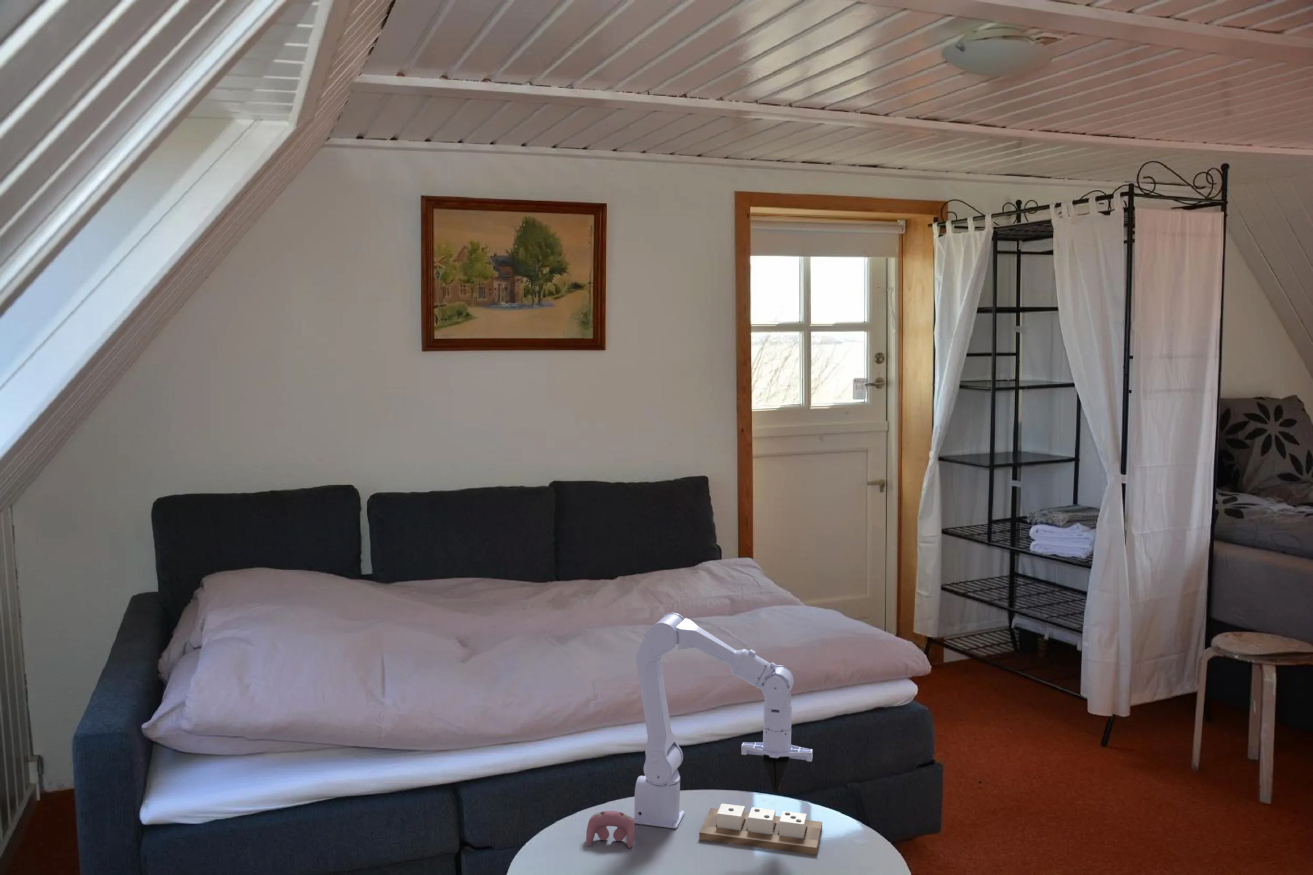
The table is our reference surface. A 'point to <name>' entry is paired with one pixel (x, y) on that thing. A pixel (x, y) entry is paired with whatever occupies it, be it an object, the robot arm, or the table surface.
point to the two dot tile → (761, 820)
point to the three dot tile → (792, 824)
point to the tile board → (762, 835)
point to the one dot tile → (730, 816)
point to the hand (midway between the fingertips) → (776, 790)
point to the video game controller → (611, 819)
